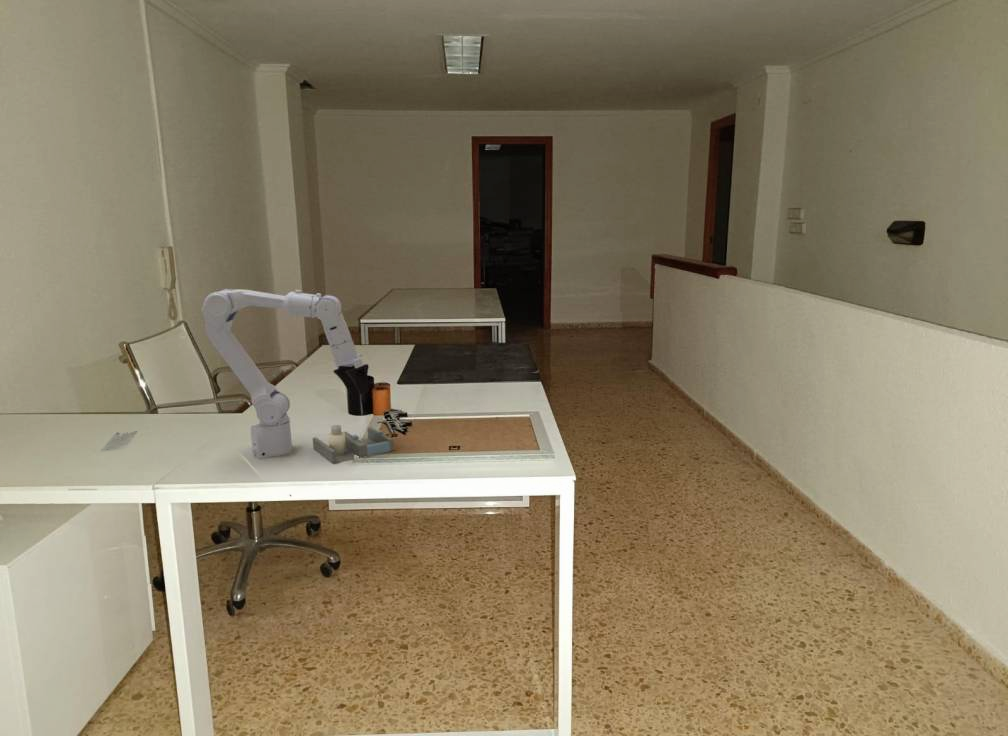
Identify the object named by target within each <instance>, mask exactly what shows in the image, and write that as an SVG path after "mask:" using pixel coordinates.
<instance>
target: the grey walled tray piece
mask: <svg viewBox="0 0 1008 736" xmlns="http://www.w3.org/2000/svg"><path fill="white" fill-rule="evenodd" d="M366 430H367V437H366V438H363V439H360V437H359V435H358V434H351V433H349V432H348V431H343V432H344V433H345V443H346V453H345V454H343V455H338V456H336V451H335V450H333V449H332V448H330V447H329V444H327V443H325V442H323V440H321V439H319V438H318V437H312V446H313V448H312V449H313V450H314V451H315V452H317V454H319V455H320V456H322V457H323V459H325V460H327V461H328V462H329V463H331V464H332V465H335V464H338V463H344V462H348V461H353V460H355V459H354V455H357V456H359V457H363V458H365V457H364V456H367V457H371V456H370V455H372V456H376V455H380V454H385V453H390V452H393V451H394V439H393V438H391V437H390V436H388V435H386V434H384V431H383V430H381V429H376V428H374V427H372V426H367V429H366Z"/></svg>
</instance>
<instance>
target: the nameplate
mask: <svg viewBox="0 0 1008 736" xmlns="http://www.w3.org/2000/svg"><path fill="white" fill-rule="evenodd" d="M384 412H385V413H384V415H383V417H384V421H382V420H381V421H377V422H376V423H377V424H383V425H385V426H386V428H387V429H388V431H389V433H390V434H391V435H393V434H394V435H395V434H396V432H398V433H400V434H402V435H404V436H406V433H408V427H412V426H413V422H412V421H409V420H408V421H407V420H400V418H407V417H408V412H406V411H403V409H402V410H401V409H397V408H390V411H384ZM395 431H396V432H395Z"/></svg>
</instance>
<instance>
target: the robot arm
mask: <svg viewBox="0 0 1008 736" xmlns="http://www.w3.org/2000/svg"><path fill="white" fill-rule="evenodd" d="M202 304H203V305H202V308H201V313H202V315H203V317H204V318H203V319H204V326H205V334H206V336H207V338H208V340H209V341H210V342H211V344H213V346H214V347H215V349H216V350H217V352H219V354H220V355H221V357H222V358H223V360H224V361H225V362H226V364H227V365H228V366H229V368H230V369H231V371H232V372H233V373H234V375H235V376H236V377H237V378H238V379H239V381H240V383H241V384H242V385H243V386H244V388H245V389H246V391H247V392H248V394H249V395H250V401H251V404H252V405H253V407H254V409H255V412H256V416H257V419H258V421H259V423H258V424H255V425H251V427H250V437H251V446H252V447H251V448H252V454H253V455H254V456H255V457H256V458H257V459H258V460H262V459H266V458H271V457H272V458H273V457H281V456H284V455H288V454H290V453H292V452H293V443H292V442H293V441H292V431H291V421H290V420H291V419H290V417H289V415H288V413H287V412H288V411H289V410H290V406H291V403H290V399H289V397H288V396H287V395H286V394H285V393H283V392H281V391H280V390H278V388H277V387H276V386H275V385H274V384H272V383H270V382H269V380H267V378H266V377H265V376H264V374H263V373H262V371H260V369H259V368H258V366H257V365H256V363H255V362H254V360H253V359H252V358H251V356H250V355H249V354H248V353H247V350H245V348H244V347H243V345H241V343H240V341H239V340H238V338H237V337H236V336H235V335H234V333H233V331H231V330H232V325H233V323H234V322H233V321H234V318H235V316H236V315H237V314H238V312H239V311H240V310H241V309H244V308H246V307H247V308H248V307H249V306H250V307H260V308H261V307H262V308H270V309H283V310H284V311H285V313H287V315H288V316H289V315H290V316H296V317H297V316H298V317H303V318H313V319H315V318H317V319H318V320H320V322H321V325H322V327H323V332H324V335H325V337H326V339H327V342H328V345H329V347H330V350H331V353H332V355H333V358H334V360H333V362H334V364H335V366H336V367H337V368H336V369H334V370H333V371H332V372H333V373H334V374H335V375H336V376H337V377H338V378H339V380H340V381H341V382H342V383H343V385H344V386H345V388H346V390H347V391H348V392H349V394H353V393H355V392H357V391H358V393H359V394H360V396H363V395H366V394H368V393H370V387H369V382H368V381H369V380H368V374H369V373H368V372H369V364H368V363H365V364H364V363H363V360H362V357H363V356H364V355H363V353H358V351H357V350H356V347H355V343H354V341H353V338H352V335H351V331H350V329H349V327H348V324H347V321H346V320H345V317H344V314H343V313H342V303H341V301H340V300H339V298H338V297H337V296H334V295H331V294H326V295H323V296H322V293H319V292H317V293H316V294H312V293H306V292H302V290H301V289H295V290H294V291H289V292H288V293H287V294H286V295H281V294H277V293H276V294H274V293H270V292H265V291H264V292H263V291H257V290H250V289H243V288H242V289H241V288H240V289H239V288H238V289H236V288H235V289H231V288H224V289H221V290H219V291H215V292H212V293H211V292H210V293H209V294H208V295H207V296H206V297H205V298H204V302H203V303H202Z"/></svg>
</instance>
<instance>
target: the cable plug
mask: <svg viewBox="0 0 1008 736" xmlns="http://www.w3.org/2000/svg"><path fill="white" fill-rule="evenodd" d="M330 429H331V432H329V434H328V443H329V444H328V446H329V447H330V448H332V449H333V450H335V451H336V456H338V455H343V454H345V453H346V443H345V433H344V432H345V431H342V426H341V425H340V424H334V425H331V426H330Z"/></svg>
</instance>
